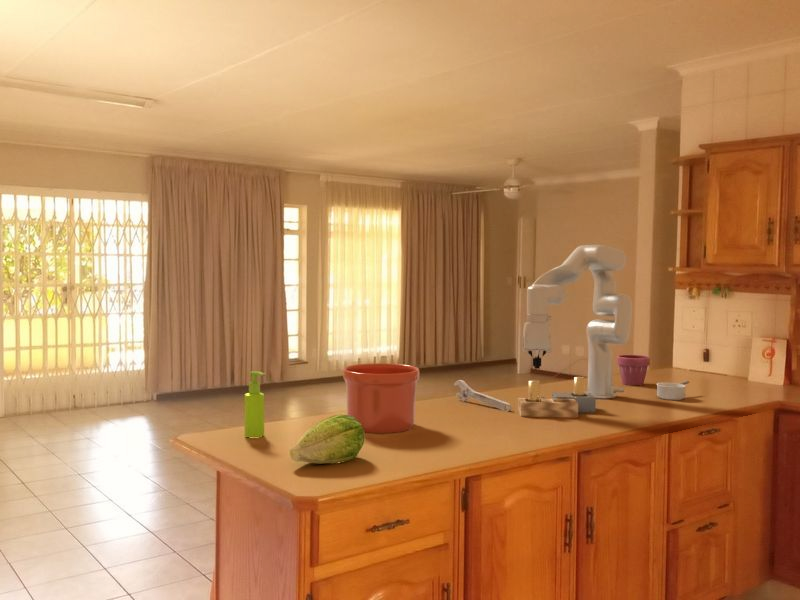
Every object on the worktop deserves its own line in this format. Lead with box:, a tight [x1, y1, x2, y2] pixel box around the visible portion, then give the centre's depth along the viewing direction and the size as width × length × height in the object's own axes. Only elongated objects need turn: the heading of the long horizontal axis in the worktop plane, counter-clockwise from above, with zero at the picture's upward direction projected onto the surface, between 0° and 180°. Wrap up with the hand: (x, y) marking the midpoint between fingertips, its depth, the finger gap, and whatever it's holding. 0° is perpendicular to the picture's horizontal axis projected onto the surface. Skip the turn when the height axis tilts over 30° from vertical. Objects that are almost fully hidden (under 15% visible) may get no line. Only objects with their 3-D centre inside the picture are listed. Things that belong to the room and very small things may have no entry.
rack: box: [517, 397, 579, 418], centre depth 255 cm, size 20×8×5 cm, turn 87°
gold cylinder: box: [573, 376, 586, 396], centre depth 264 cm, size 4×4×12 cm
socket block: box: [551, 391, 597, 414], centre depth 264 cm, size 14×10×6 cm
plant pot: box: [616, 354, 651, 386], centre depth 322 cm, size 14×14×13 cm
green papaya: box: [289, 414, 365, 465], centre depth 190 cm, size 13×22×14 cm
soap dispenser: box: [244, 371, 267, 437], centre depth 217 cm, size 6×7×20 cm
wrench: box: [453, 379, 513, 412], centre depth 271 cm, size 8×2×30 cm
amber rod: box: [527, 379, 541, 402], centre depth 255 cm, size 4×4×12 cm
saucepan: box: [656, 380, 690, 401], centre depth 292 cm, size 12×20×6 cm, turn 131°
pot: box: [342, 362, 420, 434], centre depth 233 cm, size 25×25×19 cm
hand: (536, 368), depth 264 cm, fingers closed
